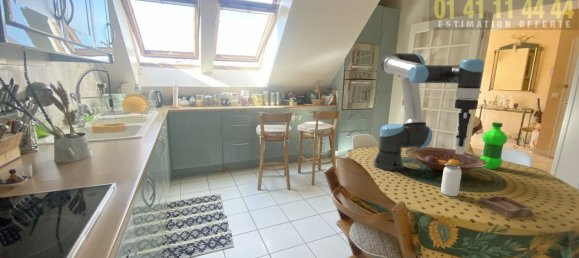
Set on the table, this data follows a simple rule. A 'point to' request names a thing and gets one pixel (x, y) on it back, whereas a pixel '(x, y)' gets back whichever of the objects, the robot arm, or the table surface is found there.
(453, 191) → the can
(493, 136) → the plastic bottle
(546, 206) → the table surface
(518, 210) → the tray
